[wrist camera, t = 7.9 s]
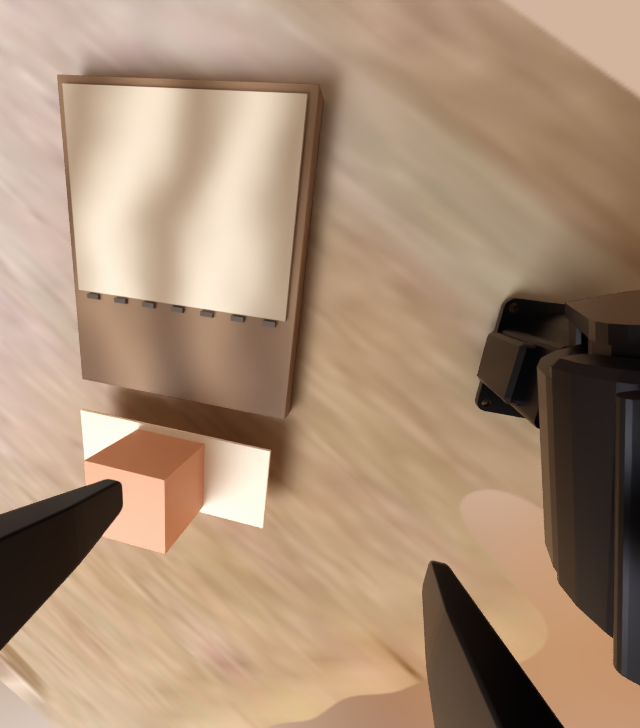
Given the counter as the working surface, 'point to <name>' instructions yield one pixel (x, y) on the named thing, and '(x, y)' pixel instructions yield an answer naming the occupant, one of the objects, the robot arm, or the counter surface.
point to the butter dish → (172, 477)
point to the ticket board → (190, 233)
